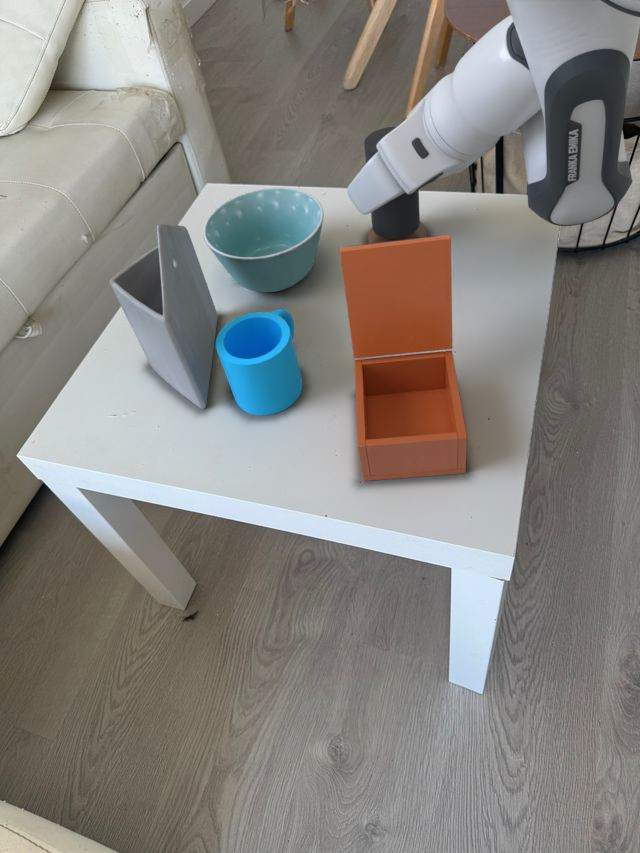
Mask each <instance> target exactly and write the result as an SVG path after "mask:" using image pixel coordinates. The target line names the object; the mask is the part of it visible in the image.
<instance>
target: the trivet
mask: <svg viewBox="0 0 640 853" xmlns="http://www.w3.org/2000/svg"><path fill="white" fill-rule="evenodd" d="M427 234H428V233H427V228H426V226H425V224H424V223H423V222H422V221H420V225H419V227H418V229H417V230H416V231H415V232H414V233H412V234H411V235H409V236H406V237H403V238H398V239H388V238H383V237H380V236H378V235H377V234H376V233H375V232H374V231H373V228H372V227H371V228H370V229H369V230H368V233H367V242H368V243H367V244H369V243H378V242H386V241H394V240H403V239H411V238H428V237H427Z"/></svg>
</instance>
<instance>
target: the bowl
mask: <svg viewBox="0 0 640 853" xmlns="http://www.w3.org/2000/svg"><path fill="white" fill-rule="evenodd" d="M324 216H325V215H324V208H323V206H322V204H321V202H320V201H319V200H318V199H317V198H316V197H315V196H314V195H312V194H310V193H308V192H306V191H303V190H301V189H297V188H291V187H267V188H260V189H255V190H250V191H248V192H244V193H241V194H239V195H237V196H234V197H231V198H230V199H228V200H227V201H225V202H223V203H222V204H220V205H219V206H217V207H216V208H215V209H214V210H213V211H212V212H210V214H209V216H208V217H207V219H206V221H205V223H204V225H203V229H202V236H203V239H204V242H205V243H206V245H207V247H208V248H209V249H210V251H211V252H212V254H213V255H214V257H216V259H217V260H218V261H219V263H220V264H221V266H223V267H224V269H225V270H226V271H227V273H228V274H229V275H230V276H231V278H233V279H234V281H235V282H236V283H237V284H238V285H239V286H241V287H243V288H245V289H248V290H251V291H255V292H260V293H275V292H281V291H284V290H287V289H289V288H291V287H293V286H295V285H296V284H298V283H299V282H300V281H301V280H303V279H304V278H305V277H306V276H307V275H308V274H309V273H310V272H311V270H312V269H313V266H314V263H315V259H316V255H317V251H318V247H319V243H320V237H321V234H322V227H323V222H324Z"/></svg>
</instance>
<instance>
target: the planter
mask: <svg viewBox="0 0 640 853" xmlns="http://www.w3.org/2000/svg"><path fill="white" fill-rule="evenodd" d="M156 235H157V245H156V246H155V247H153V248H152V249H150V250H149V251H147V252H145V253H144V254H143V255H141V256H140V257H138V258H137V259H135V260H134V261H132V262H131V263H129V264H128V265H127V266H125V267H124V268H123V269H121V270H120V271H119V272H117V273H116V274H115V275H113V276H112V278H110V279H109V284H110V286H111V289H112V292H113V294H114V295H115V297H116V299H117V301H118V303H119V305H120V307H121V308H122V311H123V313H124V315H125V316H126V319H127V321H128V323H129V325H130V327H131V329H132V331H133V333H134V335H135V337H136V339H137V341H138V343H139V345H140V347H141V349H142V351H143V353H144V355H145V357H146V359H147V362H148V364H149V366H150V367H151V368H152V369H153V370H154V372H156V373H157V375H158V376H159V377H160V378H162V380H163V381H165V382H166V383H167V384H169V386H171V387H172V388H173V389H175V390H176V391H177V392H178V393H179V394H181V396H184V397H185V398H186V399H187V400H188V401H190V402H191V403H193V404H194V405H195V406H197V407H198V408H199V409H200V410H204V409H205V408H206V407H207V406H208V394H209V388H210V379H211V374H212V373H211V372H212V365H213V358H214V350H215V343H216V334H217V324H218V319H219V314H218V311H217V309H216V305H215V303H214V300H213V297H212V295H211V292H210V289H209V286H208V283H207V280H206V278H205V275H204V272H203V269H202V266H201V264H200V261H199V258H198V255H197V252H196V249H195V247H194V243H193V240H192V238H191V236H190V233H189V231H188V229H187V227H186V226H183V225H179V224H172V223H158V224H157V225H156Z"/></svg>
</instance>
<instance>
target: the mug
mask: <svg viewBox="0 0 640 853" xmlns="http://www.w3.org/2000/svg"><path fill="white" fill-rule="evenodd" d="M294 334H295V322H294V318H293V316H292V313H291V312H289V311H288V310H287V309H285V308H280V309H274V310H272V311H271V312H266V311H256V312H250V313H249V312H248V313H245V314H242V315H239V316H237V317H235V318H234V319H232V320H230V321H228V322H227V323H225V325H224V326H223V327H222V328H221V329H220V331H219V332H218V335H217V336H216V337H215V349H216V352H217V354H218V358H219V360H220V364H221V365H222V366H221V367H222V369H223V371H224V374H225V376H226V379H227V381H228V385H229V387H230V390H231V392H232V396H233V398H234V401H235V402H236V403H235V404H236V406H238V407H239V408H240V409H241V410H242V411H243V412H246V413H248V414H250V415H254V416H269V415H275V414H278V413H280V412H283V411H286V410H287V409H288V408H290V407H291V406H292V405H294V404H295V402H297V400H298V399H299V397H300V396H301V394H302V391H303V378H302V373H301V370H300V365H299V361H298V357H297V353H296V349H295V345H294V337H295V335H294Z"/></svg>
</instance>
